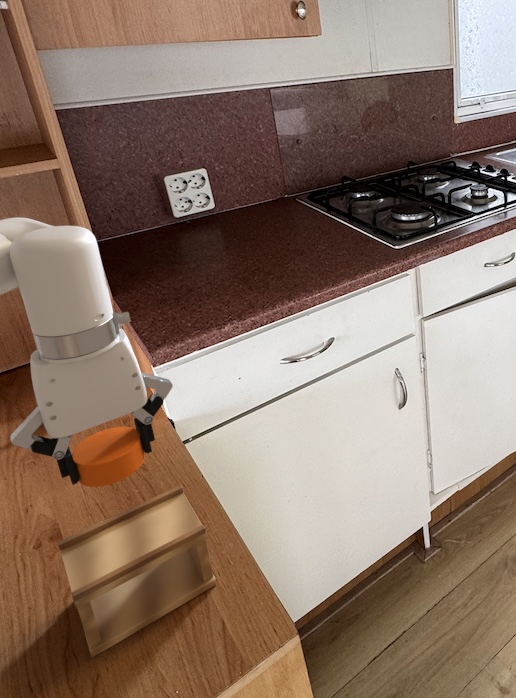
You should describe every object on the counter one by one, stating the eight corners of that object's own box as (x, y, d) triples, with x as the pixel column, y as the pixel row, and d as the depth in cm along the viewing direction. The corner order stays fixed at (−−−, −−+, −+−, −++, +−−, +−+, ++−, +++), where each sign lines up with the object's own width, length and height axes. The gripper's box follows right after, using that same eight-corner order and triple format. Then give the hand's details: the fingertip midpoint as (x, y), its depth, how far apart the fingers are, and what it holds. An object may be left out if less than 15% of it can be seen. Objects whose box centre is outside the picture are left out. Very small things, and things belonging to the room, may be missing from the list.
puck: (70, 493, 67) (63, 471, 66) (86, 454, 73) (80, 433, 72) (139, 478, 70) (133, 457, 69) (149, 441, 76) (144, 421, 75)
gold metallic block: (91, 658, 67) (72, 597, 64) (75, 599, 74) (57, 541, 71) (216, 584, 77) (205, 527, 73) (192, 538, 83) (180, 484, 80)
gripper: (153, 301, 74) (177, 417, 80) (-27, 349, 62) (17, 481, 68) (171, 321, 68) (196, 444, 74) (-21, 378, 57) (26, 518, 63)
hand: (110, 461), depth 71 cm, fingers closed on puck, 7 cm apart
